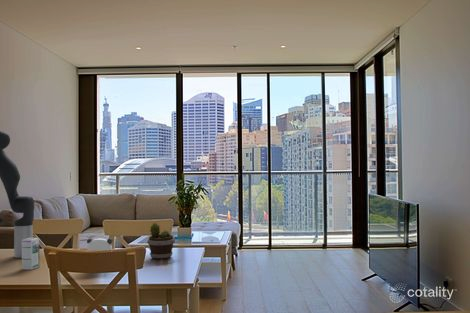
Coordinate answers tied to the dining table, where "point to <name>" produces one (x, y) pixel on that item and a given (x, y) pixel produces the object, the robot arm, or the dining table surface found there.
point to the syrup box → (30, 253)
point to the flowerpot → (160, 243)
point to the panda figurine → (99, 244)
